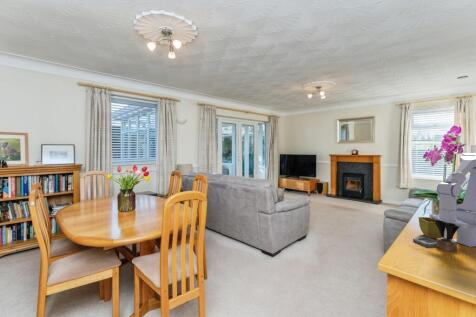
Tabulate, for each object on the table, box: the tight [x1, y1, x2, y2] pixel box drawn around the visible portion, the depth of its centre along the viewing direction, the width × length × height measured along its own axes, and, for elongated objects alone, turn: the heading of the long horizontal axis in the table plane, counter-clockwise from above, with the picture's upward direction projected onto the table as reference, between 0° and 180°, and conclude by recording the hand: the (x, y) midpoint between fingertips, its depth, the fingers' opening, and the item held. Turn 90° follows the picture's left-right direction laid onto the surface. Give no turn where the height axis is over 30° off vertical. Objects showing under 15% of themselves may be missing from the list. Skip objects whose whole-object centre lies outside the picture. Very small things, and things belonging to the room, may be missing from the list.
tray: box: [412, 236, 436, 248], centre depth 110 cm, size 8×7×2 cm
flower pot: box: [418, 216, 442, 239], centre depth 119 cm, size 9×9×9 cm
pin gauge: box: [444, 227, 450, 242], centre depth 104 cm, size 2×2×8 cm
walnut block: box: [435, 237, 458, 252], centre depth 104 cm, size 5×5×4 cm
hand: (446, 238), depth 104 cm, fingers closed on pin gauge, 2 cm apart
